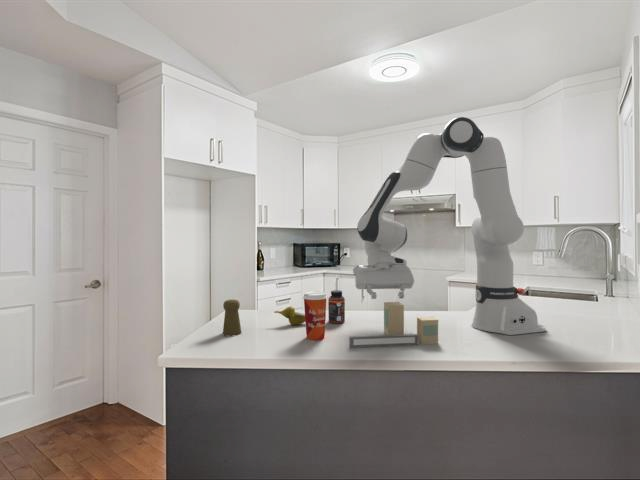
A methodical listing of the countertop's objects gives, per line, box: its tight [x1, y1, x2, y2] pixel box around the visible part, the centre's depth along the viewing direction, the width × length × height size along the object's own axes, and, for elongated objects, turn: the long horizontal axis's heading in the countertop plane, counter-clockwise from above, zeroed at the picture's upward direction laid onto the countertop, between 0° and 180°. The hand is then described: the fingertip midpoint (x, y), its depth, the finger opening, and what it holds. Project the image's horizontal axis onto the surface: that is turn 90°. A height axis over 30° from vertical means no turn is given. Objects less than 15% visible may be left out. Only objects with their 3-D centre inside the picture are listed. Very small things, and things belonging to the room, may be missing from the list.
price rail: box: [348, 333, 419, 349], centre depth 108 cm, size 20×1×3 cm, turn 95°
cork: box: [222, 299, 242, 337], centre depth 122 cm, size 6×6×11 cm
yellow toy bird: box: [274, 306, 306, 326], centre depth 132 cm, size 4×15×6 cm, turn 98°
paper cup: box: [302, 290, 328, 341], centre depth 117 cm, size 8×8×14 cm
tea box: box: [416, 316, 439, 345], centre depth 112 cm, size 5×4×7 cm
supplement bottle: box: [327, 289, 346, 324], centre depth 136 cm, size 6×6×11 cm
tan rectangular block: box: [383, 301, 405, 335], centre depth 119 cm, size 5×5×10 cm
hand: (388, 297), depth 125 cm, fingers open, 8 cm apart
